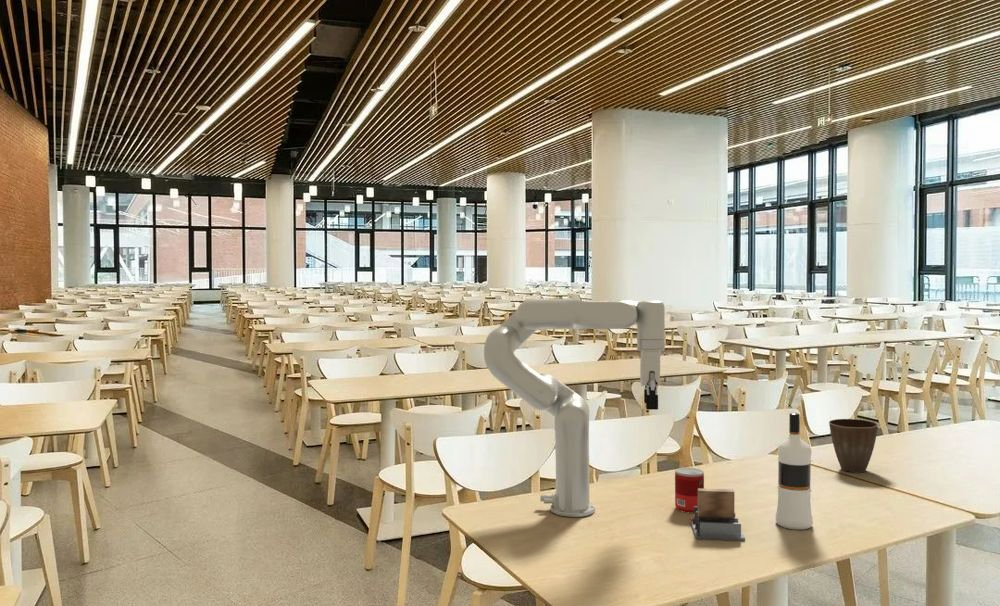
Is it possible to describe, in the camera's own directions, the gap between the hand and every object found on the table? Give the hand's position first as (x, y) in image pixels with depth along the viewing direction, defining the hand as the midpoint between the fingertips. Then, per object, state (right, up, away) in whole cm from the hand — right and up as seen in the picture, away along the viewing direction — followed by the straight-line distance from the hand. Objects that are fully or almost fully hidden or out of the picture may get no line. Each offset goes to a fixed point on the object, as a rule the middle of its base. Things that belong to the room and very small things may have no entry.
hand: (651, 406), depth 211 cm
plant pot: (+77, -28, +44) cm, 93 cm away
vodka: (+36, -31, -10) cm, 48 cm away
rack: (+14, -31, -14) cm, 37 cm away
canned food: (+12, -30, +5) cm, 33 cm away
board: (+14, -30, -14) cm, 36 cm away
